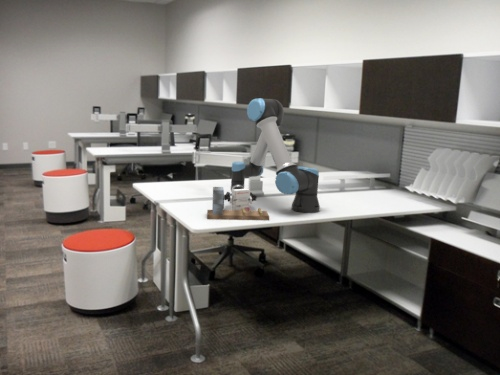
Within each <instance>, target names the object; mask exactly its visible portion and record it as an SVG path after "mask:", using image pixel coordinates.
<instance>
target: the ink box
mask: <svg viewBox="0 0 500 375" xmlns="http://www.w3.org/2000/svg"><path fill="white" fill-rule="evenodd" d="M250 192H251V190H250V189H248V188H244V189H232V192H231V193H232V203H230V206H231V208H230V210H242V208H244V209H245V210H246V211H250V205H251V204H250Z"/></svg>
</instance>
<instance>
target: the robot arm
mask: <svg viewBox="0 0 500 375" xmlns="http://www.w3.org/2000/svg"><path fill="white" fill-rule="evenodd" d="M284 112H285V111H284V107H283V104H282V103H281V102H280V101H279V100H277V99H273V98H254V99H251V101H249V103H248V105H247V108H246V114H247V118H248V119H249V120H250V121H252V122H254V123H255V125H256V127H257V128H259V129H260V130H261V132H260V135H259V138H258V139H257V142H256V144H255V148H254V150H253V152H252V155H251V158H250V160H249V163H247V164H246V163H245V162H244V161H233V162H232V164H231V178H230V179H231V180H230V181H231V182H230V192H229V191H226V193H224V201H227V202H228V203H229V204H231V203H232V189H245V181H246V180H245V179H246V178H253V177H259V176H262V175H263V173H264V167H263V165H264V162H265V159H266V157H267V154H268V152H270V154H271V157H272V160H273V162H274V165H275V167H276V171H275V174H276V176H275V179H274V180H275V181H274V182H275V186H276V187H275V188H277V190H278V191H279V192H280V193H281V194H284V195H293V194H295V195H294V197H293V200H292V203H291V211H295V212H299V213H319V212H320V209H321V208H320V203H319V199H318V198H319V197H318V191H319V177H320V175H319V174H320V173H319V170H318V169H317V168H314V167H306V166H298V165H297V164H296V163H294V162H293V161H292V158H291V156H290V154H289V151H288V148H287V146H286V144H285V142H284V139H283V136H282V134H281V132H280V130H279V127H281V125H282V122H283V119H284V115H285V114H284ZM256 201H257V195H255V194H254V193H253V192H251V191H250V205H252V204H253V202H256Z"/></svg>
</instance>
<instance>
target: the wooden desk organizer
mask: <svg viewBox="0 0 500 375" xmlns="http://www.w3.org/2000/svg"><path fill="white" fill-rule="evenodd" d="M224 195H225V190H224V187H223V186H212V209H207V212H206V213H207V214H206V216H207V218H206V219H207V220H237V221H238V220H239V221H240V220H242V221H245V220H247V221H249V220H252V221H270V215H269V213H268V211H267V210H262V208H261V207H257V210H249V211H246V210H245V209H244V208H242V210H231V209H225V200H224Z"/></svg>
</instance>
